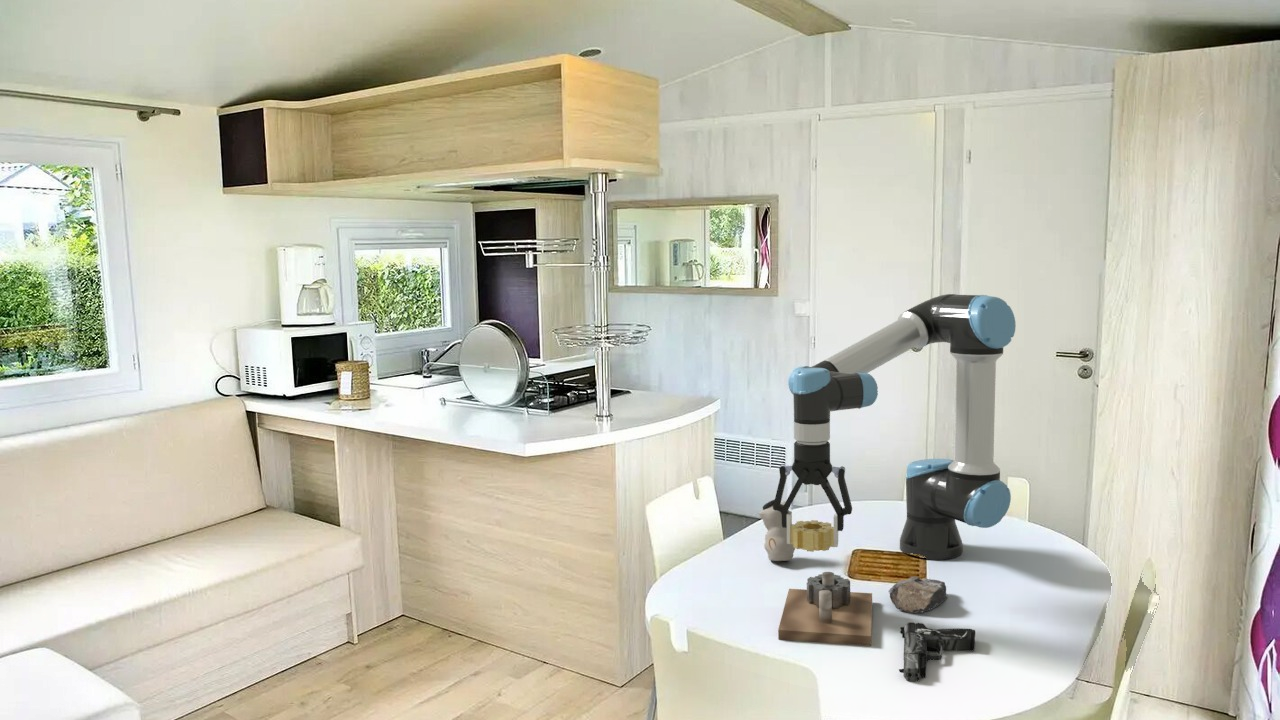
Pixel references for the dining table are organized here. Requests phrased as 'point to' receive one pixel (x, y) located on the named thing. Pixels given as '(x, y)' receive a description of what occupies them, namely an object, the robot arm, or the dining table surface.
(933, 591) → the rock
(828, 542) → the brass gear
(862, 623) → the board
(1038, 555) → the dining table surface
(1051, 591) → the dining table surface
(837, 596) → the grey gear
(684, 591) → the dining table surface
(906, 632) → the handgun
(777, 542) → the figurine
